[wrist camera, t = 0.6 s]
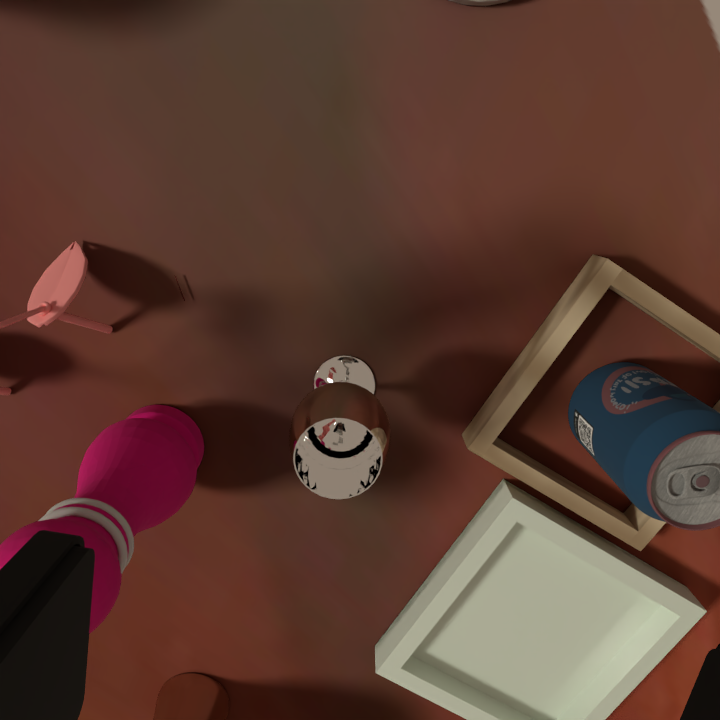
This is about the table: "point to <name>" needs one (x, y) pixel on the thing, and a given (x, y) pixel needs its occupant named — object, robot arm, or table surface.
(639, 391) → the soda can
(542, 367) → the oak frame
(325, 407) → the wineglass
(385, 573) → the table surface
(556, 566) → the sage dish
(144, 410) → the pepper mill
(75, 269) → the figurine
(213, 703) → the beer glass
